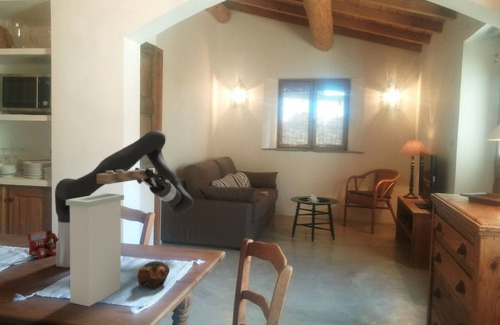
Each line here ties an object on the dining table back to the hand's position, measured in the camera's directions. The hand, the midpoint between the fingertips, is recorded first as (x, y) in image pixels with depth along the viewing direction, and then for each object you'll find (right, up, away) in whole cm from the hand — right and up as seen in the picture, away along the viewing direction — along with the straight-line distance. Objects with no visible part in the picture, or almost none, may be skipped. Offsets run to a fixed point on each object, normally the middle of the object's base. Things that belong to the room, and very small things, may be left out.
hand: (140, 170), depth 139 cm
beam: (-3, -3, -7) cm, 8 cm away
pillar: (-8, -39, -19) cm, 44 cm away
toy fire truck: (-46, -36, +20) cm, 62 cm away
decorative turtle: (+7, -39, -9) cm, 41 cm away
